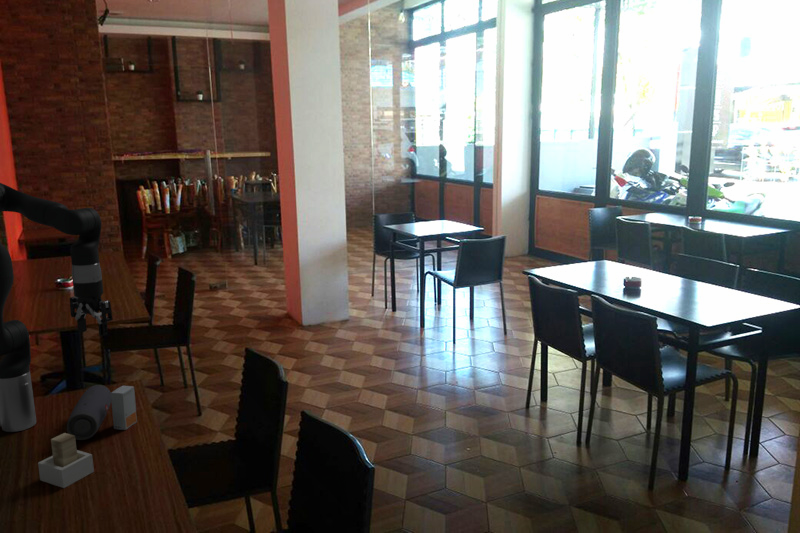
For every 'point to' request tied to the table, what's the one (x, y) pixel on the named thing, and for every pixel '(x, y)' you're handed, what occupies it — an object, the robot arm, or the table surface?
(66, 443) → the birch peg
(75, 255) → the robot arm
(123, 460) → the table surface
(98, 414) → the bluetooth speaker
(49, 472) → the socket stand
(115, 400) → the skincare box
